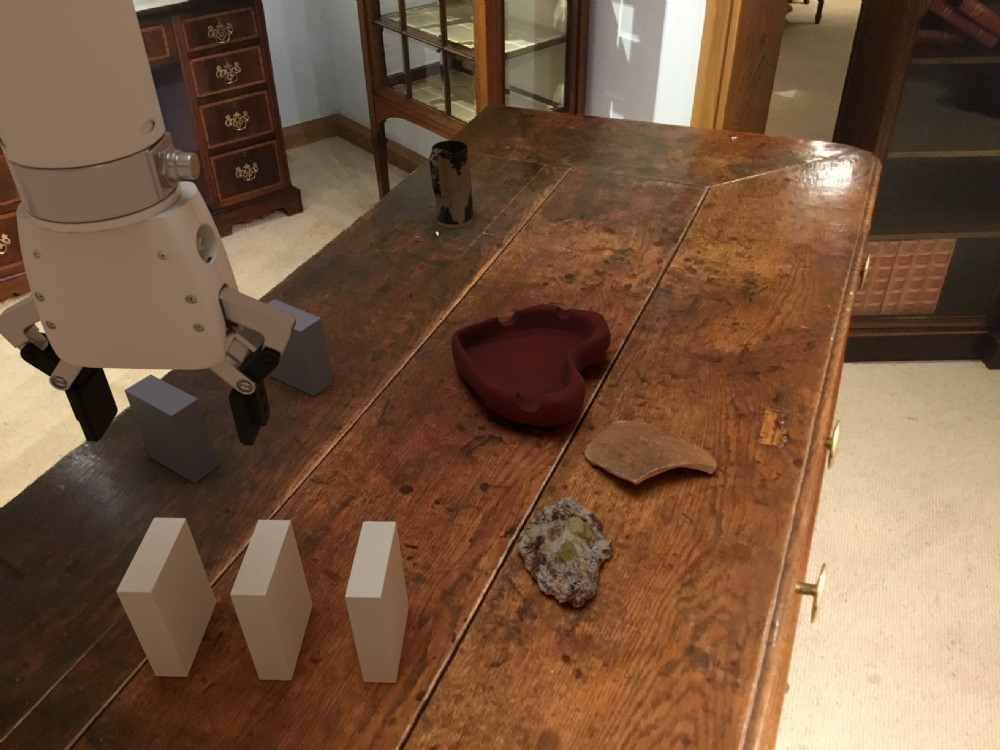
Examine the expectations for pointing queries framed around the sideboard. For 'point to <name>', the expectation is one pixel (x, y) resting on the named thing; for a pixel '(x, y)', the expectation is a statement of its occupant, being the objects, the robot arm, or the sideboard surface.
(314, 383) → the grey books
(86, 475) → the sideboard surface
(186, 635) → the white books
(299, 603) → the white book
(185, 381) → the sideboard surface
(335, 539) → the sideboard surface
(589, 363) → the ashtray
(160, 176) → the robot arm
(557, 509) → the mineral rock
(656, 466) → the pottery shard
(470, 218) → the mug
